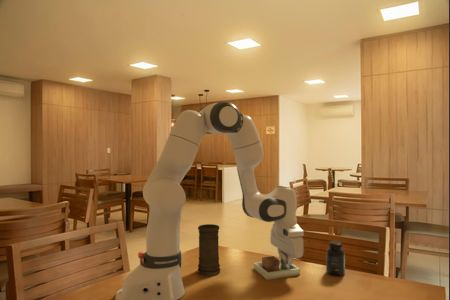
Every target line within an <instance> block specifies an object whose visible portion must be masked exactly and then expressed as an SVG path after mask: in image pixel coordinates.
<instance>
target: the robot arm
mask: <svg viewBox="0 0 450 300" xmlns="http://www.w3.org/2000/svg"><path fill="white" fill-rule="evenodd" d="M206 134H207V135H209V134H211V135H213V134H215V135H221V134H225V135H226V137H227V138H228V139H229V141H230V146H231V149H232V152H233V155H234V158H235V163H236V171H237V175H238V179H239V180H238V181H239V183H240V189H241V192H242V201H241V205H242V206H241V207H242V210H243V212H244V214H245V215H246V216H247V217H248V218H249V217H250V218H252V219H253V218H254V219H257V220H259V221H262V222H266V223H271V222H273V224H272V228H271V229H270V239H269V240H270V241H269V242H270V244H271V245H272V246H273V247H275V248H277V253H278V259H279V260H280V252H282V251H283V252H285V253H287V256H288V259H287V260H286V264H288V265H292V264H293V259H299V258H302V257H303V255H304V239H303V237H304V235H305V231H304V229H302V227H300V225H299V224H298V223H297V222H298V218H297V210H298V206H297V205H298V203H297V200H298V199H297V194H296V191H295V189H294V188H292V187H289V186H284V185H283V186H282V185H277V186H276V187H275V188H274V189H273V190H272V191H270V192H269V193H267V194H265V195H264V194H262V193H261V192H260V191H259V189H258V186H257V181H256V177H255V169H256V167H257V166H259V164H261V162H262V161H263V159H264V154H265V153H264V147H263V142H262V140H261V136H260V134H259V131H258V129H257V127H256V125H255V123H254V121H253V119H252V117H250V116H249V115H246V114H242V112H241V111H240V110H239V108H238V107H237V105H235V104H233V103H232V102H230V101H219V102H213V103H211V104H208V105H206V106H204V107H202V108H201V109H199V110H198V111H196V110H192V109H187V110H183V111H182V112H181V113H180V114H179V116H178V117H177V118H176V121H175V122H174V124H173V125H172V128H171V129H170V132H169V134H168V137H167V138H166V139H167V140H166V141H165V144H164V146H163V149H162V152H161V154H160V156H159V158H158V160H157V162H156V163H155V165H154V167H153V169H152V171H151V172H150V174H149V176H148V178H147V180H146V182H145V183H144V185H143V189H142V195H143V199H144V201H145V202H146V204H148V208H149V209H148V211H149V212H148V219H147V226H146V230H145V231H146V233H145V235H146V236H145V237H146V238H145V241H146V242H145V244H146V249H145V252H143V251H139V252H138V253H137V256H138V258H139V265H138V266H136V267H135V268H134V269H133V270H131V271H130V272H128V274H126V276H125V277H124V280H123V284H122V288H120V289H118V290H117V292H116V293H115V299H114V300H180V299H181V298H182V297H183V296H184V295H185V293H186V291H185V287H184V283H183V278H182V260H183V259H182V251H181V247H180V244H181V243H180V242H181V241H180V239H181V237H180V236H181V235H180V233H181V222H182V216H183V210H184V206H185V204H186V201H187V200H186V198H187V197H186V192H185V190H184V188H183V187H182V185H181V182H182V180H183V179H184V177H185V176H186V174H188V172H189V171H190V170H191V168H192V166H193V164H194V162H195V159H196V155H197V153H198V151H199V148H200V146H201V142H202V139H203V138H204V136H205V135H206Z"/></svg>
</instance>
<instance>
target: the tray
mask: <svg viewBox="0 0 450 300" xmlns="http://www.w3.org/2000/svg"><path fill="white" fill-rule="evenodd" d="M279 262H280V259H279ZM253 269H254V270H255V271H256V272H257V273H258V274H260V275H261V276H262V277H263V278H265V280H267V281H268V280H270V281H271V280H275V279H281V278H282V279H283V278H288V277H289V278H290V277H296V276H300V275H301V268H299V266H297V265H295V264H294V263H292V265H291V269H289V270H282V269H280V271H275V272H267V271H266V270H264V269H263V268H262V261H259V262H258V261H257V262H253Z"/></svg>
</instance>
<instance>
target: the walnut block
mask: <svg viewBox="0 0 450 300" xmlns="http://www.w3.org/2000/svg"><path fill="white" fill-rule="evenodd" d="M279 260H280V259H279V258H277V257H276V256H273V255H271V256H264V257H261V262H262V268H263V269H264V270H266V271H267V272H275V271H280V262H279Z"/></svg>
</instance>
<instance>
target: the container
mask: <svg viewBox="0 0 450 300" xmlns="http://www.w3.org/2000/svg"><path fill="white" fill-rule="evenodd" d="M197 229H198V264H197V274H198V275H202V276H204V277H205V276H207V277H211V276H217V275H219V274H220V272H221V267H220V266H221V265H220V257H219V231H220V226H219V225H217V224H211V223H208V224H201V225H199V226H198V227H197Z"/></svg>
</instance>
